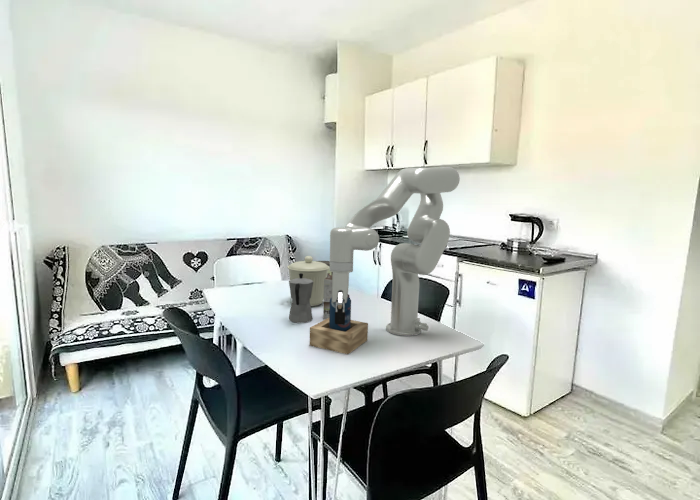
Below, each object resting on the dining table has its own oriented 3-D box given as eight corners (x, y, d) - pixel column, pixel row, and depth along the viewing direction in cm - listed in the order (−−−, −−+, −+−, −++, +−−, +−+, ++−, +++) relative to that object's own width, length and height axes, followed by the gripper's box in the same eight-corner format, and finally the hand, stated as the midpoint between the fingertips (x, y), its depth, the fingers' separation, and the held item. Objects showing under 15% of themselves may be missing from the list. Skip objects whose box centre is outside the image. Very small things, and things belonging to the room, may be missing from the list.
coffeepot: (291, 313, 166) (292, 269, 164) (315, 314, 166) (316, 270, 163) (283, 326, 151) (283, 277, 148) (309, 327, 150) (309, 278, 148)
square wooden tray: (367, 340, 139) (368, 323, 138) (348, 354, 127) (348, 335, 126) (331, 332, 145) (331, 316, 145) (309, 345, 133) (309, 327, 132)
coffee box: (338, 321, 158) (339, 280, 156) (322, 320, 159) (323, 278, 157) (344, 314, 167) (345, 275, 165) (328, 313, 168) (329, 274, 166)
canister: (321, 297, 193) (322, 252, 190) (334, 307, 176) (335, 258, 173) (282, 299, 186) (283, 253, 183) (292, 311, 170) (293, 260, 167)
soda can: (339, 336, 131) (340, 299, 129) (324, 330, 136) (325, 294, 134) (354, 331, 136) (355, 295, 134) (339, 325, 140) (340, 291, 139)
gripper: (330, 261, 141) (329, 312, 144) (328, 271, 124) (327, 328, 126) (352, 261, 141) (351, 312, 144) (353, 272, 124) (351, 329, 127)
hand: (340, 319), depth 135 cm, fingers closed on soda can, 7 cm apart
